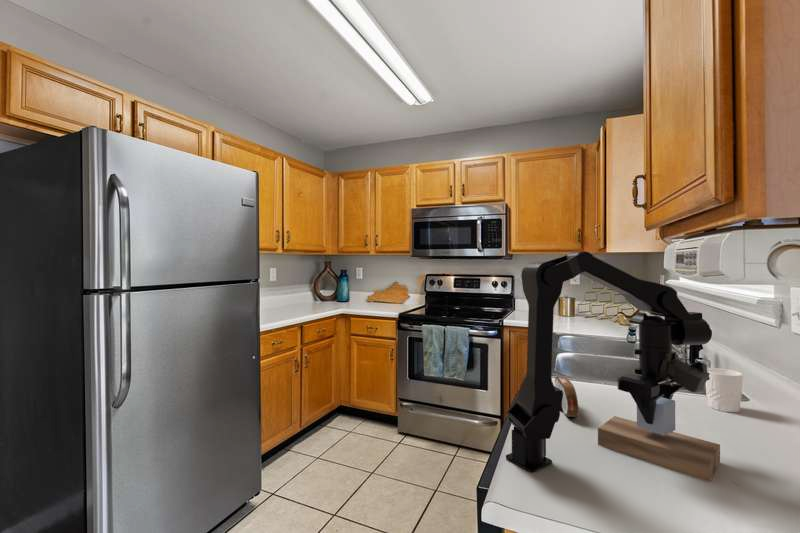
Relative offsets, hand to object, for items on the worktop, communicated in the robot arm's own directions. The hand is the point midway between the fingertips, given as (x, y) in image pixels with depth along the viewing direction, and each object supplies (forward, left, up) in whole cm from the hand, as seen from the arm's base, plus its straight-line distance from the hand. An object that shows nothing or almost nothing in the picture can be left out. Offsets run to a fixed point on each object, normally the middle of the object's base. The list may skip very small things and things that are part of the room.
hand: (655, 420), depth 77 cm
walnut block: (0, 0, -7) cm, 7 cm away
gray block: (0, 0, -2) cm, 2 cm away
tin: (+5, +24, -7) cm, 26 cm away
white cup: (+43, +2, -7) cm, 44 cm away
